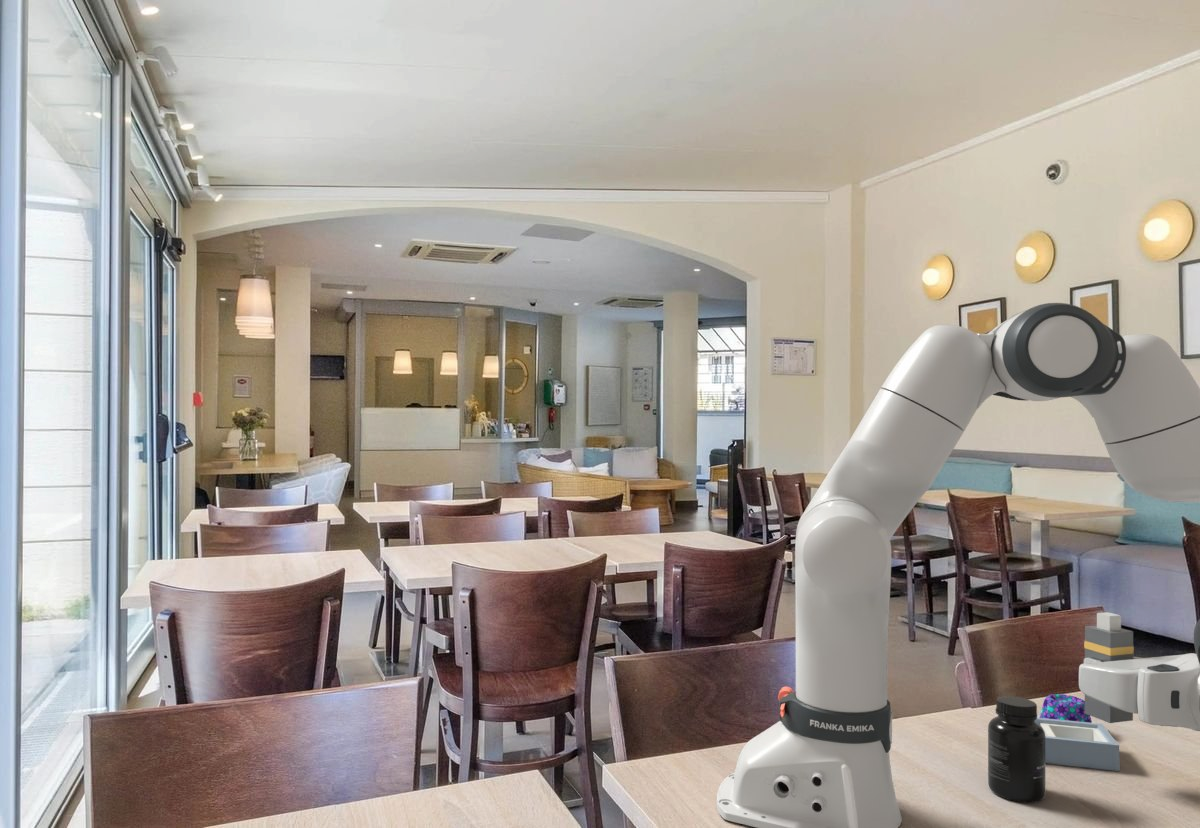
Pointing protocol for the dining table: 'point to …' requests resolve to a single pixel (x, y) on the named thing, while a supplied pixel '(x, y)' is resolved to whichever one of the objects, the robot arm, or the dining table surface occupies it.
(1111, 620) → the grey bottle
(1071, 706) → the pudding
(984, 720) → the dining table surface
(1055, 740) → the walled box
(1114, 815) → the dining table surface
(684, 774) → the dining table surface
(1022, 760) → the supplement bottle
